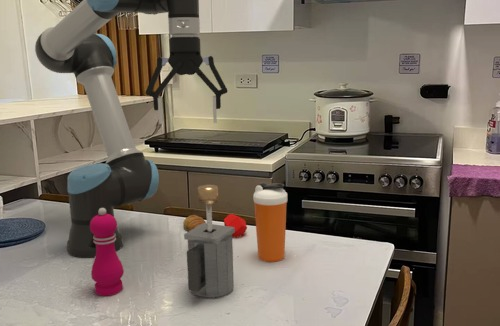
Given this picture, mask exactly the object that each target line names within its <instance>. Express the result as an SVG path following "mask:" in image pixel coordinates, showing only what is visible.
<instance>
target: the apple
mask: <svg viewBox="0 0 500 326" xmlns="http://www.w3.org/2000/svg"><path fill="white" fill-rule="evenodd" d="M223 226H229V227H235V232H234V233H233V234H232V238H233V237H234V238H239V237H243V236H244V235H245V233H246V232H247V230H248V226H247V222H246V220H245V219H244V218H242V217H240V216H238V215H235V214H232V213H230V214H227V216H226V217H225V218H223Z"/></svg>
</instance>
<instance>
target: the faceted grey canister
mask: <svg viewBox="0 0 500 326" xmlns="http://www.w3.org/2000/svg"><path fill="white" fill-rule="evenodd" d="M234 232H235V227H229V226H224V225H221V224H220V225H219V224H213V223H212V233H208V232H207V222H206V223H202V224H201V225H199V226H197V227H196V228H194V229H192V230H190V231H189V232H188V231H187V232H185V233H184V234H183V239H184V240H187V251H186V260H187V261H186V263H187V265H186V266H187V284H188V291H190V293H191V294H192V295H193V296H195V297H197V298H201V299H210V300H211V299H220V298H224V297H226V296H229V295H230V294H231V293H232V292H233V291H234V289H235V288H234V286H235V281H234V256H233V255H234V253H233V248H234V247H233V237H232V234H233V233H234Z"/></svg>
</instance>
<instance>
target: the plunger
mask: <svg viewBox="0 0 500 326" xmlns="http://www.w3.org/2000/svg"><path fill="white" fill-rule="evenodd" d="M218 187H219V186H218V185H215V184H203V185H199V186H198V187H197V193H198V196H197V197H198V203H200V204H203V205H204V204H205V208H206V209H205V210H206V212H205V214H206V223H207V232H208V233H212V224H213V217H212V216H213V211H212V209H213V208H212V204H216V203H218V202H219V188H218Z"/></svg>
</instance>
